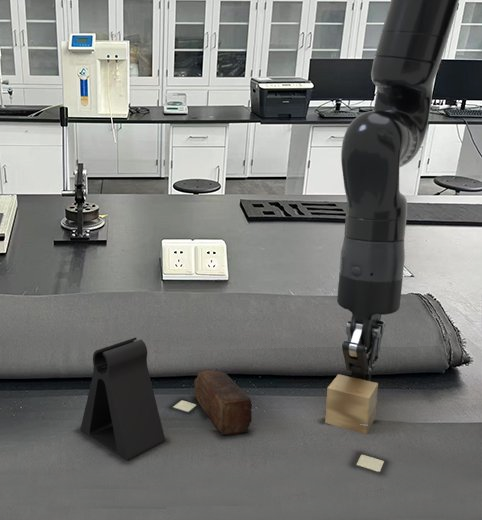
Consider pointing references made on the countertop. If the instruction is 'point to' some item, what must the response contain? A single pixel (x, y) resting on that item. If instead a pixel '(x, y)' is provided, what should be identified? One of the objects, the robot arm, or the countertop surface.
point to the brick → (223, 402)
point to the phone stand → (122, 401)
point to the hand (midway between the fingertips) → (359, 395)
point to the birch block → (351, 403)
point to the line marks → (363, 462)
